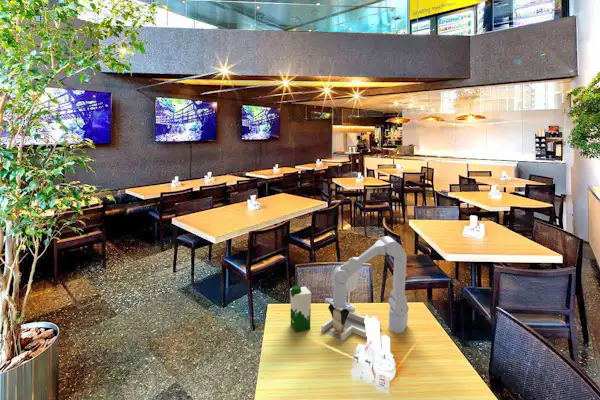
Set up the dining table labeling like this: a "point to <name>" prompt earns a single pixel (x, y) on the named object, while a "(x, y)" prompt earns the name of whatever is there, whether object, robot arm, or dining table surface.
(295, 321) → the milk carton
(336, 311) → the peg
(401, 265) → the robot arm
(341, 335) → the walled channel course
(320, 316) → the dining table surface
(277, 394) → the dining table surface
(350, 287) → the wineglass
